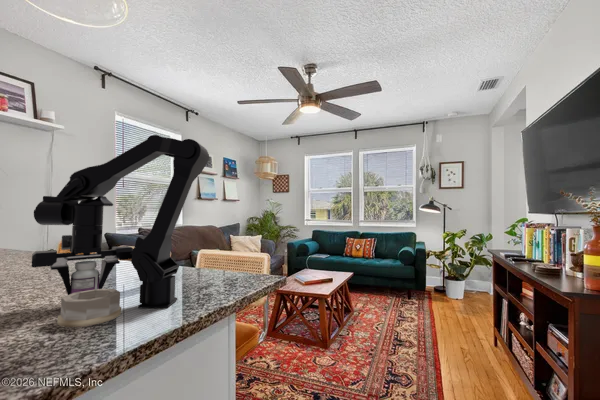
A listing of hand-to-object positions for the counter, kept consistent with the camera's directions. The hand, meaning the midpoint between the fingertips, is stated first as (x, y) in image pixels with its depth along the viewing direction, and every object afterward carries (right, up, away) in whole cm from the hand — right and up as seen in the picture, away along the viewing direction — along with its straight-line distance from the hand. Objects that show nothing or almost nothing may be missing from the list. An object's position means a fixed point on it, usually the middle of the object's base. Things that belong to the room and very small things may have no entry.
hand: (84, 293), depth 67 cm
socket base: (+8, -2, -9) cm, 12 cm away
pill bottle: (0, -3, 0) cm, 3 cm away
